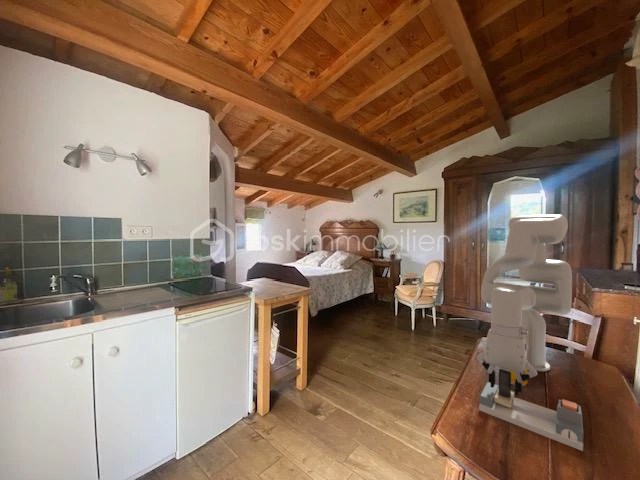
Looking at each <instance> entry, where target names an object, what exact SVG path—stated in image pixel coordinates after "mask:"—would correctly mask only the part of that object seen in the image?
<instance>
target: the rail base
mask: <svg viewBox="0 0 640 480" xmlns="http://www.w3.org/2000/svg"><path fill="white" fill-rule="evenodd" d="M498 388H499V384H495V385H494V387H493V388H492V387H491V383H489V381H487V383H486V384H485V386H484V388H483V389H482V391H481V394H480V395H479V396H480V399H479V401H480V402H479V405H478V406H479V407H478V408H479V409H478V411H480V412H483V413H485V414H488V415H490V416H493V417H495V418H498V419H500V420H503V421H506V422H508V423H509V424H510V423H511V424H513V425H515V426H518V427H520V428H524V429H525V430H529V431H531V432H533V433H536V434H538V435H541V436H543V437H546V438H548V439H551V440H553V441H556V442H558V443H561V444H563V445H566V446H569V447H572V448H573V449H577V450H579V451H581V452H584V426H583V425H584V424H583V412H582V406H581V405H578V404H577V412H575V411H572V410H569V409H566V408H563V407H562V399H558V402H557V405H556V410H554V409H551V408H548V407H544V406H542V405H538V404H535V403H533V402H530V401H527V400H524V399H521V398H519V397H515V396H514V400H513V403H512V408H510V407H507V406H504V405H501V404H499V403H496V402H494V397H495V394H496V392H497V390H498Z"/></svg>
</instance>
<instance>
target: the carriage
mask: <svg viewBox="0 0 640 480" xmlns="http://www.w3.org/2000/svg"><path fill="white" fill-rule="evenodd" d="M498 386H499V388H498V390H497V392H496V394H495V397H494V402H496V403H499V404H501V405H504V406H507V407H510V408H512V403H513V400H514V397H515V391H512V384H511V372H510V371H508V370H506V369H503V368H499V369H498Z"/></svg>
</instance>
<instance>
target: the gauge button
mask: <svg viewBox="0 0 640 480" xmlns="http://www.w3.org/2000/svg"><path fill="white" fill-rule="evenodd" d="M561 400H562V407H563V408H566V409H569V410H572V411H575V412H577V405H578V404H577V403H576V402H574V401H570V400H566V399H563V398H562V399H561Z"/></svg>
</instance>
